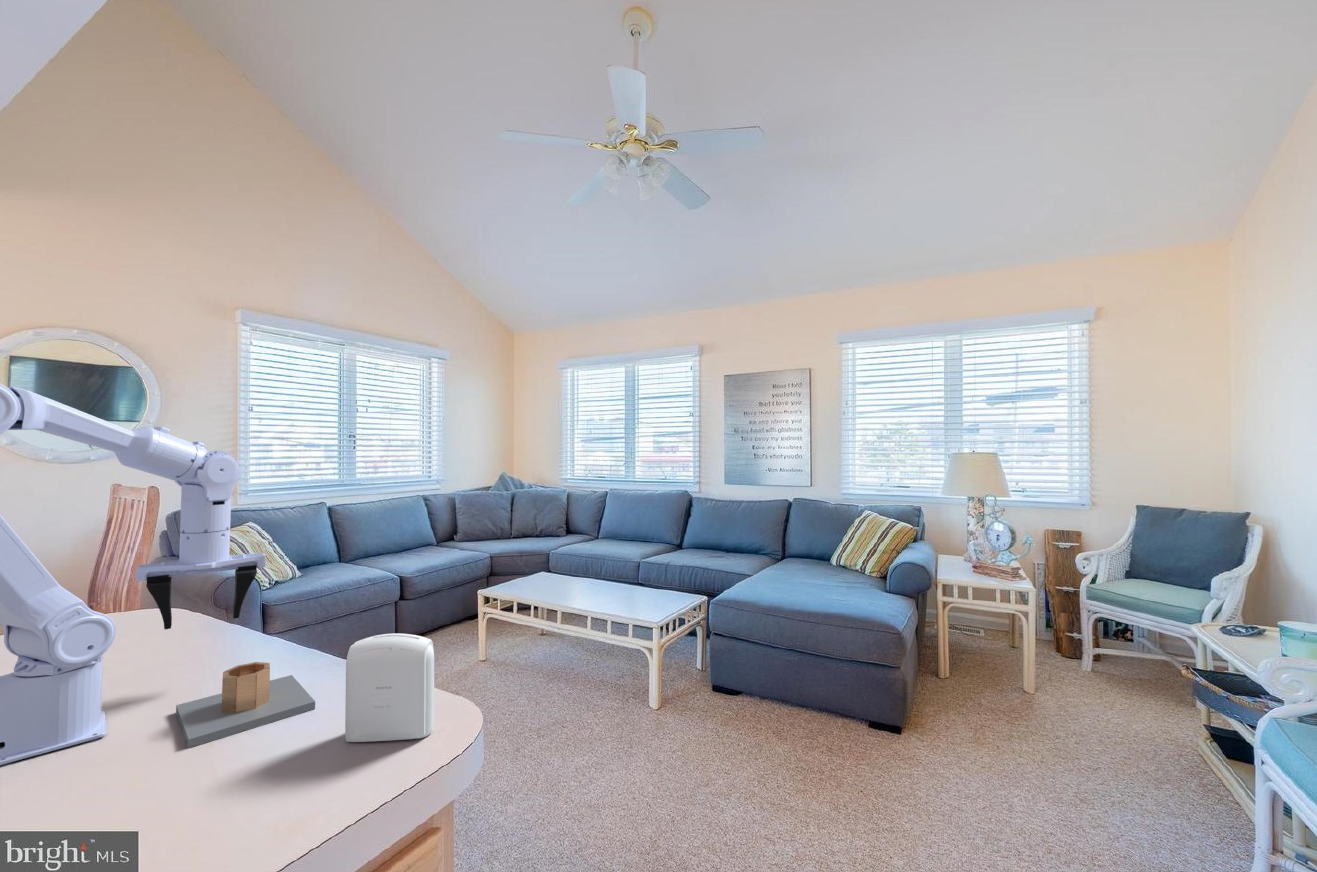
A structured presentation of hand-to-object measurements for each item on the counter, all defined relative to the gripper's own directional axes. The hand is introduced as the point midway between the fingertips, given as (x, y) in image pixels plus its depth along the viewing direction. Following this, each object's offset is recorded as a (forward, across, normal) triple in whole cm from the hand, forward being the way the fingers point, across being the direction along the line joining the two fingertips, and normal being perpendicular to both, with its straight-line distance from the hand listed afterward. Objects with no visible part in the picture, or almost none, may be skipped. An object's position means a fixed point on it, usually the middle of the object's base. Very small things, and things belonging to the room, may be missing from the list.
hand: (203, 621), depth 79 cm
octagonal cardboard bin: (+8, +5, -14) cm, 17 cm away
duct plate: (+9, +5, -14) cm, 17 cm away
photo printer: (+10, +18, -32) cm, 38 cm away
